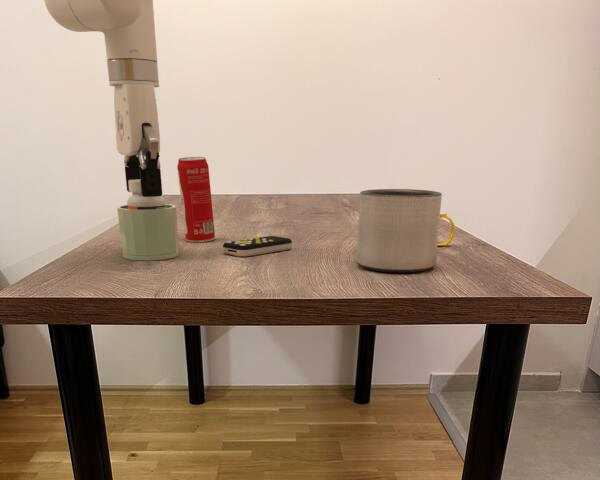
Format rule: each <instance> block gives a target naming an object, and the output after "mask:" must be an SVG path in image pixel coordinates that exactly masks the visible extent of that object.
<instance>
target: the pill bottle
mask: <svg viewBox="0 0 600 480" xmlns="http://www.w3.org/2000/svg"><path fill="white" fill-rule="evenodd" d="M128 183H129V192H128V193H131V195H130V196H129V197H128V198H127V201H126V203H127V204H126V205H127V207H128V209H140V210H145V209H164V208H165V204H166V202H165V199H164V197H162V196H157V197H144V196H142V192H141V181H140V179H137V180H129V181H128Z"/></svg>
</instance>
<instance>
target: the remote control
mask: <svg viewBox="0 0 600 480" xmlns="http://www.w3.org/2000/svg"><path fill="white" fill-rule="evenodd" d="M292 247H293V241H292V239H291V238H288V237H282V236H276V235H268V236H261V237H259V236H258V237H254V238H253V237H250V238H242V239H240V240H231V241H229V240H227V241H225V242H224V243H223V244H222V252H223V253H224V254H225V255H229V256H235V257H240V258H247V257H253V256H260V255H265V254H266V255H267V254H270V253H272V254H273V253H277V252H283V251H288V250H291V249H292Z"/></svg>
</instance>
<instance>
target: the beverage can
mask: <svg viewBox="0 0 600 480" xmlns="http://www.w3.org/2000/svg"><path fill="white" fill-rule="evenodd" d="M206 158H207V157H205V156H186V157H180V158H178V161H177V166H176V167H177V169H176V170H177V176H178V184H179V194H180V203H181V211H182V220H183V228H184V229H183V230H184V237H185V240H186V241H187V242H189V243H207V242H211V241H213V240H215V238H216V233H215V224H214V212H213V202H212V201H213V200H212V190H211V181H210V180H211V179H210V169H209V164H208V161H207V159H206Z"/></svg>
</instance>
